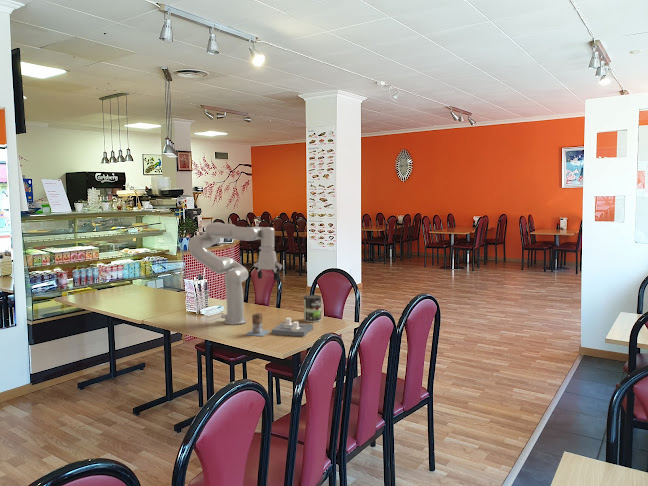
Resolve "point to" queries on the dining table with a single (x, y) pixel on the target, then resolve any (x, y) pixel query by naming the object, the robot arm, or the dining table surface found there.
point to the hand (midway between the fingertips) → (267, 279)
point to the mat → (257, 334)
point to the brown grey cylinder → (257, 323)
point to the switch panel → (287, 330)
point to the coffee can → (312, 308)
